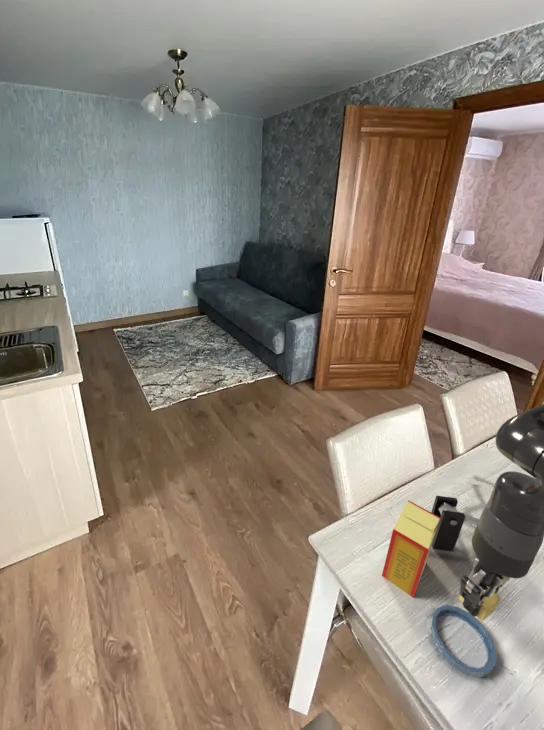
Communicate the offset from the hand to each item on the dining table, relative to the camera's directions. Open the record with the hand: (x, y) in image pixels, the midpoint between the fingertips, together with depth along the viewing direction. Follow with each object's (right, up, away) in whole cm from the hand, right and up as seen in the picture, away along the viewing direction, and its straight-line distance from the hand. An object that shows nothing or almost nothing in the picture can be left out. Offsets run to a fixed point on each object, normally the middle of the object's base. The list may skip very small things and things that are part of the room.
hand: (477, 603), depth 60 cm
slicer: (+6, -4, +23) cm, 24 cm away
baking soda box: (-5, -7, +17) cm, 19 cm away
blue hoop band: (0, -12, +5) cm, 13 cm away
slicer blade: (+11, +3, +19) cm, 22 cm away
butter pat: (0, 0, 0) cm, 0 cm away
